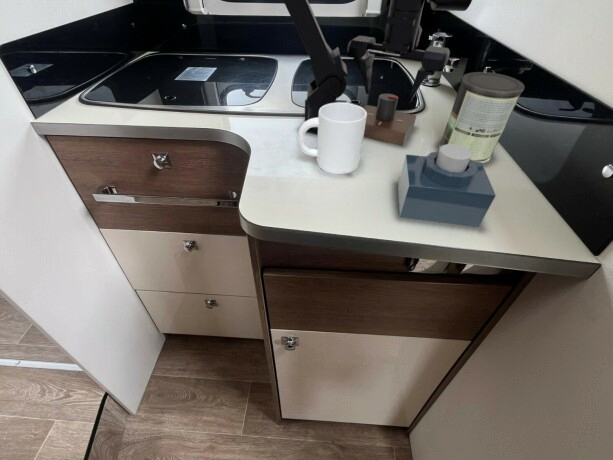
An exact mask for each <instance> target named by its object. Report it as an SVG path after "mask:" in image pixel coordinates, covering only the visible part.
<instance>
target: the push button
mask: <svg viewBox="0 0 613 460" xmlns="http://www.w3.org/2000/svg"><path fill="white" fill-rule="evenodd" d="M438 151H439V153H438V156H437V159H436V165H437V166H438V167H440V168H441V169H444V170H446V171H449V172H457V173H459V172H464V171H465V170H466V168H467V165H468V163H469V161H470V158H471V156H472V153H471V152H470V150H468V149H467V148H465V147H463V146H460V145H455V144H446V145H443V146H441V148H440V150H439V149H438Z"/></svg>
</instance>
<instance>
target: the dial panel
mask: <svg viewBox="0 0 613 460" xmlns="http://www.w3.org/2000/svg"><path fill="white" fill-rule="evenodd" d="M362 108H363V109H365V111H366V112H367V117H366V124H365V130H364V137H363V138H367V139H371V140H375V141H379V142H384V143H387V144H392V145H396V146H399V147H400V146H401V147H403V146H404V144H405V143H406V141H407V139H408V138H409V136H410V134H411V132H413V130H414V126H415V123H416V119H417V114H411V113H408V112H402V111H397V110H396V111H395V115H394V119H393V120H392V121H387V122H386V121H380V120H378V119H376V111H377V106H374V105H369V104H365V105H364V107H362Z"/></svg>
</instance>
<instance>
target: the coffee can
mask: <svg viewBox="0 0 613 460" xmlns="http://www.w3.org/2000/svg"><path fill="white" fill-rule="evenodd" d="M524 90H525V84H524V83H523V82H522V81H520V80H519V79H516V78H515V77H512V76H508V75H505V74H501V73H495V72H489V71H475V72H473V71H472V72H468V73H465V74H464V75H462V77H461V80H460V85H459V88H458V91H457V93H456V96H455V100H454V102H453V105H452V108H451V112H450V114H449V117H448V120H447V123H446V126H445V128H444V131H443V135H442V138H441V140H440V143H439V145H438V151H439V150H440V148H441V146H443V145H446V144H455V145H460V146H463V147H465V148H467V149H468V150H470V152H471V153H472V156H471V158H470V159H471V160H472V161H474V162H481V163H482V165H483V164H485V163H488V162H489V161H490V160H491V158H492V156H493V153H494V151H495V148H496V147H497V144H498V142H499V140H500V139H501V136H502V134H503V132H504V130H505V128H506V126H507V124H508V121H509V119H510V117H511V115H512V113H513V111H514V109H515V107H516V104H517V103H518V101H519V98H520V96H521V95H522V93H523V92H524Z"/></svg>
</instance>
